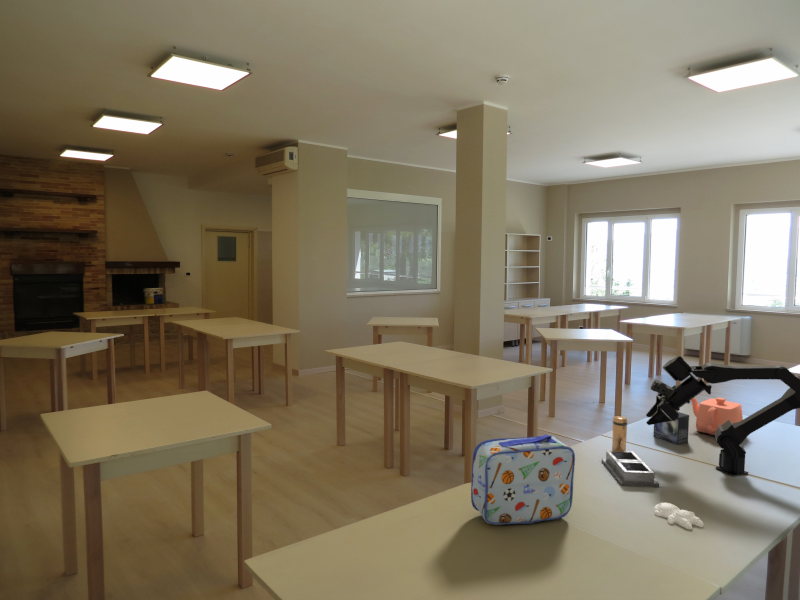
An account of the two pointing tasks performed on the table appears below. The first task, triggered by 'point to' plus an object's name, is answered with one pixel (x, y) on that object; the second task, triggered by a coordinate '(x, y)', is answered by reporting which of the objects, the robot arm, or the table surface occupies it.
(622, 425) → the copper tube
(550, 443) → the lunch box
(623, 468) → the grey two-compartment tray
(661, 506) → the astronaut figurine
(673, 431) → the small box
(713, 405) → the teapot
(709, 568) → the table surface
